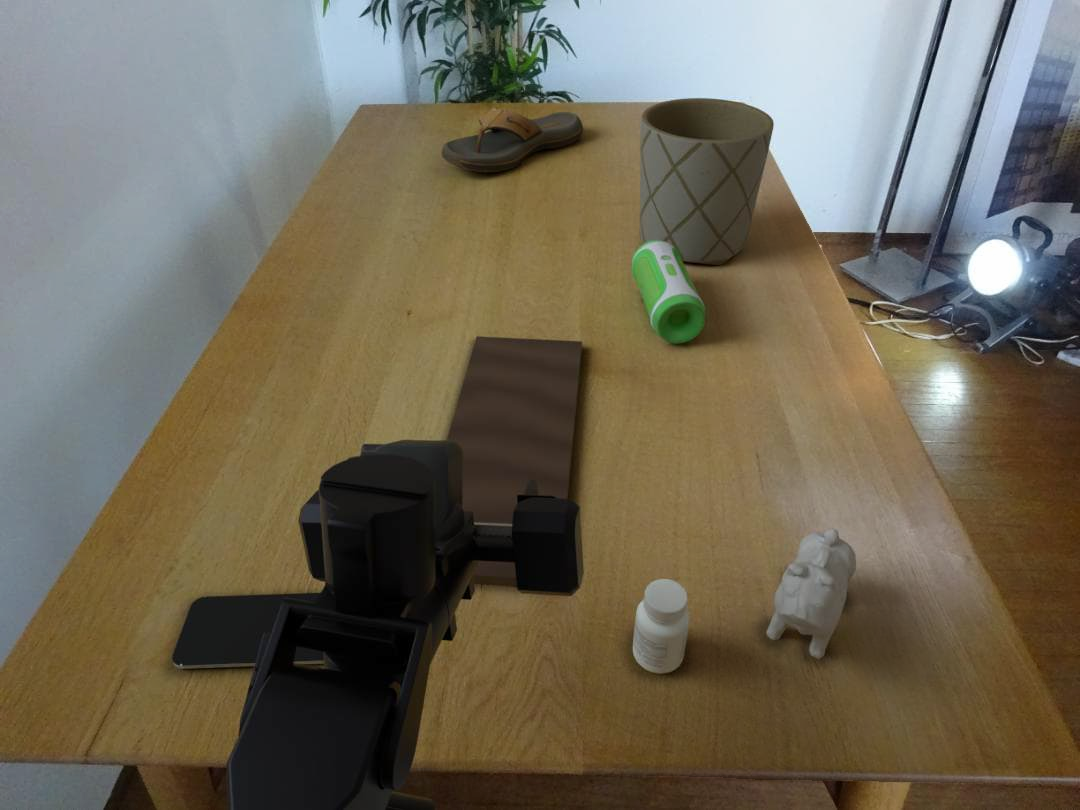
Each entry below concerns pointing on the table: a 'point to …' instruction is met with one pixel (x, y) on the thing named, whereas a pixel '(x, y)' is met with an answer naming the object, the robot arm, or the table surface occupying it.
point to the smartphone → (233, 631)
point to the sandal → (511, 139)
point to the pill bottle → (661, 627)
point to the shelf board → (514, 429)
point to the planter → (701, 175)
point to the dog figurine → (814, 589)
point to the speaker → (668, 292)
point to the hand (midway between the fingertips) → (474, 482)
